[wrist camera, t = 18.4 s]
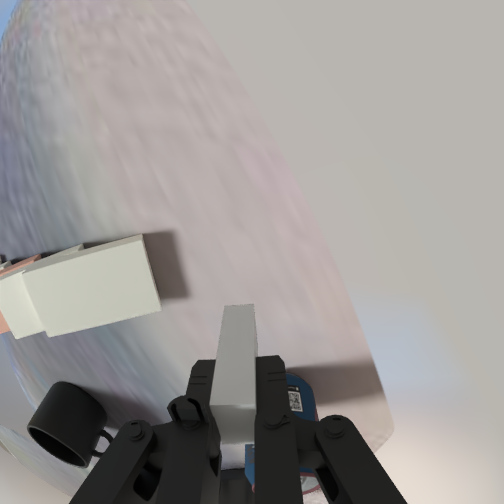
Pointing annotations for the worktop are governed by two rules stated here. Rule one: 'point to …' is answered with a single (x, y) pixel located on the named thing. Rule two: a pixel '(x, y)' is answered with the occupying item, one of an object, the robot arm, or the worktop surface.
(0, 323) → the domino
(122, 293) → the domino
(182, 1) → the worktop surface
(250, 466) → the soda can
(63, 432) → the mug
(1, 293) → the domino
